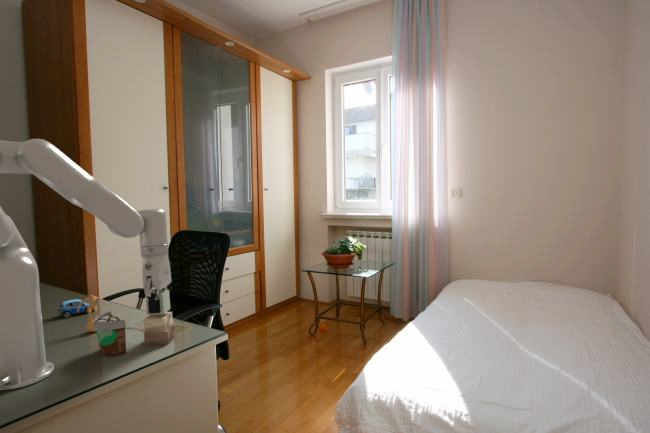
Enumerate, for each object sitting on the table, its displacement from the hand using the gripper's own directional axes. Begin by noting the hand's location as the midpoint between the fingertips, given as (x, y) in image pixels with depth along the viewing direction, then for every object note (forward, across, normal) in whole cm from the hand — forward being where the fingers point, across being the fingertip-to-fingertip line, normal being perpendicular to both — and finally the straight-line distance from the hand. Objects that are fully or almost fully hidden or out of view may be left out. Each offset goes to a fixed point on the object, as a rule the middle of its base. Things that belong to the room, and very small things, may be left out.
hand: (158, 309), depth 114 cm
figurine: (+10, +11, +26) cm, 30 cm away
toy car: (+10, +30, +43) cm, 53 cm away
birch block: (+6, 0, 0) cm, 6 cm away
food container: (+10, -7, +12) cm, 17 cm away
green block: (+1, 0, 0) cm, 1 cm away
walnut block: (+10, 0, 0) cm, 10 cm away
